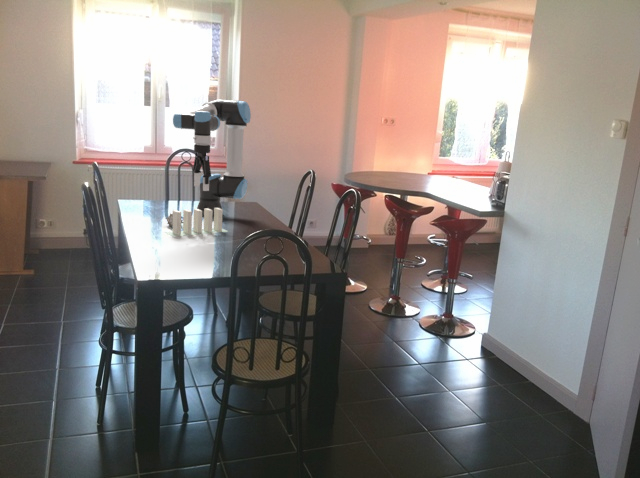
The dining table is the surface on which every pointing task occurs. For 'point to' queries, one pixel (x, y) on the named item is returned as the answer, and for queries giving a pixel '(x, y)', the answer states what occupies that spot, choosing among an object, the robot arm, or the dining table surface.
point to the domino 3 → (197, 220)
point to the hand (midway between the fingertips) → (201, 188)
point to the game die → (171, 220)
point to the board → (196, 232)
